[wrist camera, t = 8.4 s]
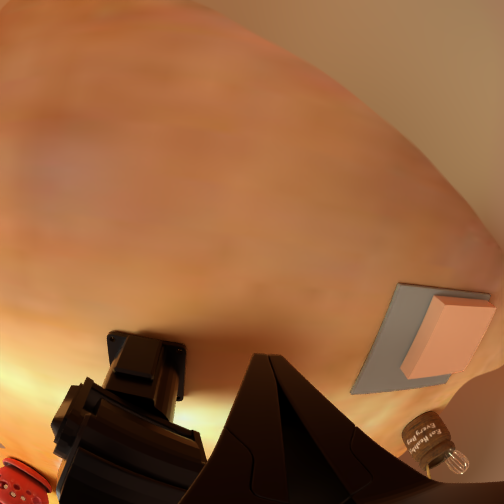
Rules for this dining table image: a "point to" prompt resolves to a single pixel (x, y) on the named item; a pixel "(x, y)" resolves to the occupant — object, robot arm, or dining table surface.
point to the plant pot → (22, 484)
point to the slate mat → (402, 340)
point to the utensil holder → (428, 441)
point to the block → (447, 336)
